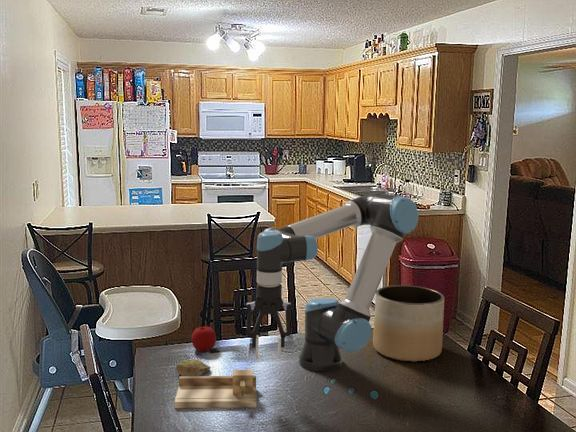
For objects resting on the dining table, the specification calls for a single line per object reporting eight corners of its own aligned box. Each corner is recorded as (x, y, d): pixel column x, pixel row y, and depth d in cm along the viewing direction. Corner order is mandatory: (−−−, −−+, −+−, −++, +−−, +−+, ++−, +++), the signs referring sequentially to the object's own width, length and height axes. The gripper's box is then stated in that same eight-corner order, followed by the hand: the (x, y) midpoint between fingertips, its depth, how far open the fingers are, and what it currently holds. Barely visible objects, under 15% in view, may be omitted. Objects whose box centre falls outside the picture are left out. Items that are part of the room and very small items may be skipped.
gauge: (252, 388, 179) (252, 369, 178) (252, 401, 171) (252, 381, 170) (233, 388, 179) (233, 369, 178) (232, 401, 171) (232, 382, 170)
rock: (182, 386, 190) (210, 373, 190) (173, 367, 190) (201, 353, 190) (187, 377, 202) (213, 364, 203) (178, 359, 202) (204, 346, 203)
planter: (440, 342, 227) (443, 287, 224) (442, 367, 203) (446, 307, 199) (375, 335, 233) (377, 282, 229) (369, 359, 208) (372, 300, 205)
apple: (214, 355, 210) (214, 328, 208) (189, 354, 210) (189, 328, 208) (217, 345, 219) (217, 320, 218) (193, 344, 219) (193, 319, 218)
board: (255, 389, 183) (256, 375, 183) (256, 407, 171) (256, 392, 171) (179, 389, 182) (179, 376, 181) (174, 408, 170) (174, 393, 169)
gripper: (299, 280, 177) (298, 352, 180) (237, 280, 176) (237, 352, 179) (302, 287, 170) (300, 362, 173) (236, 287, 168) (236, 362, 172)
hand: (268, 357), depth 176 cm, fingers open, 6 cm apart
